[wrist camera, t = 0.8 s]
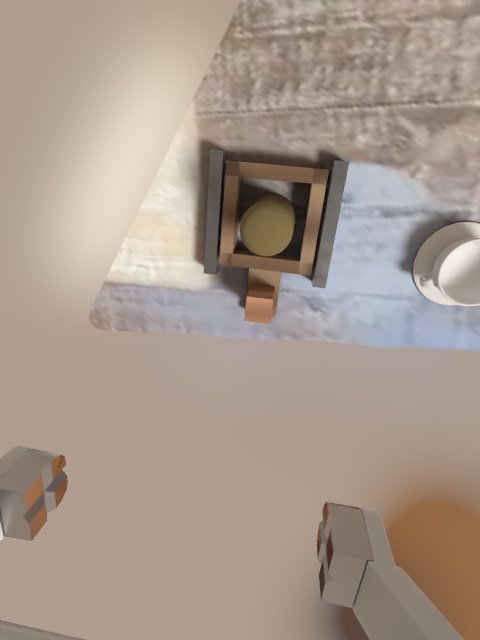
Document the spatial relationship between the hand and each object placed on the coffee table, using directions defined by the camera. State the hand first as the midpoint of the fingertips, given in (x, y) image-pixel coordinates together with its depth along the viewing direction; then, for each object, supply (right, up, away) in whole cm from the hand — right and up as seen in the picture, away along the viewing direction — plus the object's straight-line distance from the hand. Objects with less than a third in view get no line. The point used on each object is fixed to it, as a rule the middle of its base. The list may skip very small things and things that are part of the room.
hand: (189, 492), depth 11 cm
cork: (+5, +18, +32) cm, 37 cm away
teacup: (+27, +12, +31) cm, 43 cm away
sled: (+5, +15, +33) cm, 36 cm away
